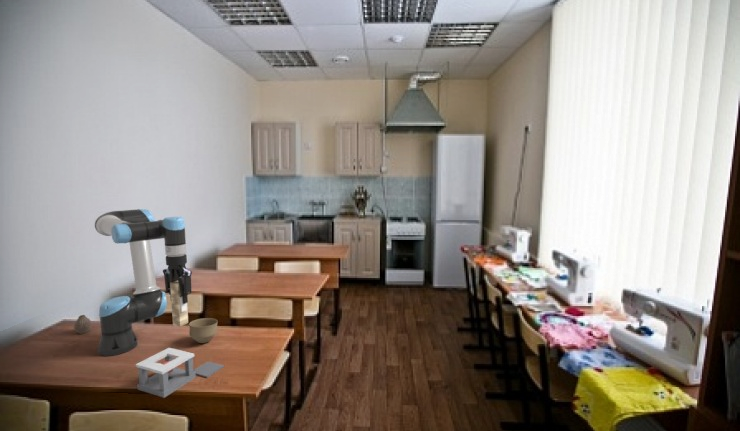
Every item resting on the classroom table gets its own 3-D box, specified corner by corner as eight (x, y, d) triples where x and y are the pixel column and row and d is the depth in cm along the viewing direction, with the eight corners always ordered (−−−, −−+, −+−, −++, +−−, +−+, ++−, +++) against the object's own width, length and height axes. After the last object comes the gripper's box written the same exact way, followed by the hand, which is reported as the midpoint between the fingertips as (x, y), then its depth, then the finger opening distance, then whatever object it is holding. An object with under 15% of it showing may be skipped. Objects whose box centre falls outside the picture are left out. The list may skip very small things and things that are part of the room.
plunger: (157, 378, 136) (156, 365, 135) (168, 372, 140) (167, 360, 139) (166, 381, 134) (165, 367, 133) (176, 375, 138) (175, 362, 137)
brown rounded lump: (71, 334, 180) (69, 318, 179) (84, 328, 186) (82, 312, 185) (82, 335, 178) (81, 318, 178) (95, 329, 185) (93, 313, 184)
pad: (190, 373, 144) (190, 371, 144) (208, 362, 152) (207, 361, 152) (207, 377, 141) (207, 376, 141) (224, 366, 149) (224, 365, 149)
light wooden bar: (173, 325, 146) (170, 283, 144) (181, 321, 150) (178, 280, 148) (180, 326, 144) (177, 284, 143) (188, 323, 148) (185, 281, 146)
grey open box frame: (137, 389, 133) (135, 364, 132) (170, 370, 146) (169, 347, 145) (164, 397, 128) (162, 371, 127) (195, 377, 141) (194, 353, 140)
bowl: (224, 339, 174) (223, 319, 173) (199, 349, 164) (198, 329, 162) (208, 333, 181) (207, 314, 180) (184, 343, 170) (183, 323, 169)
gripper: (152, 255, 143) (156, 310, 146) (184, 258, 137) (187, 316, 140) (168, 251, 150) (172, 304, 153) (199, 254, 144) (202, 309, 147)
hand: (179, 309), depth 146 cm, fingers closed on light wooden bar, 4 cm apart
